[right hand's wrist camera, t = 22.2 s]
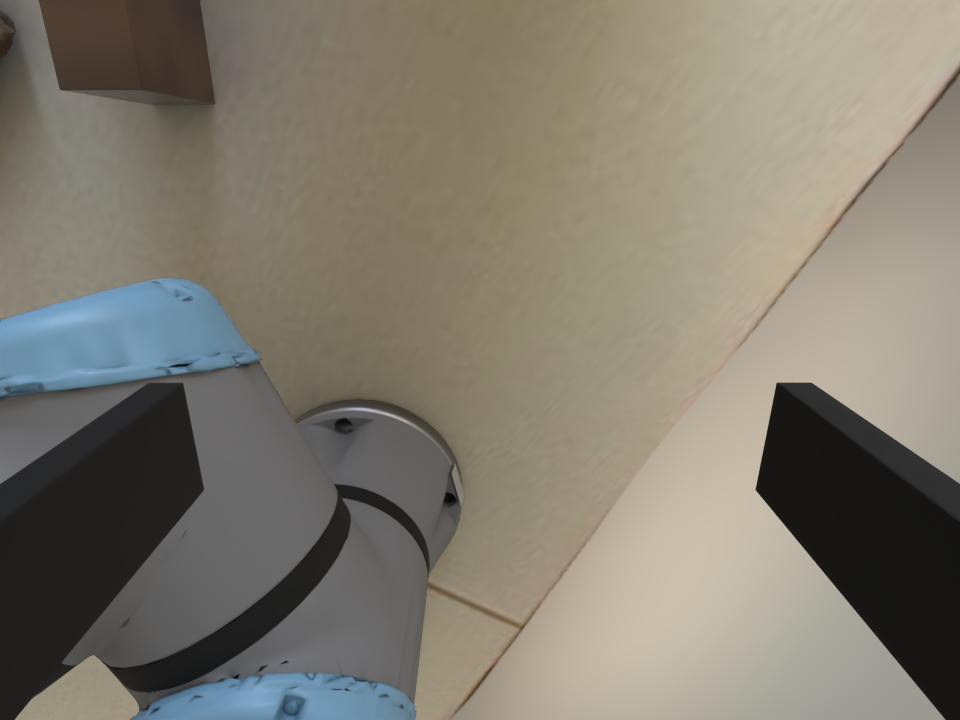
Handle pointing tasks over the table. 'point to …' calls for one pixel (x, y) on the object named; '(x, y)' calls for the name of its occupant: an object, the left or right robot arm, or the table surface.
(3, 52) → the stone
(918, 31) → the table surface
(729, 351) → the table surface
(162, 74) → the walnut bar
